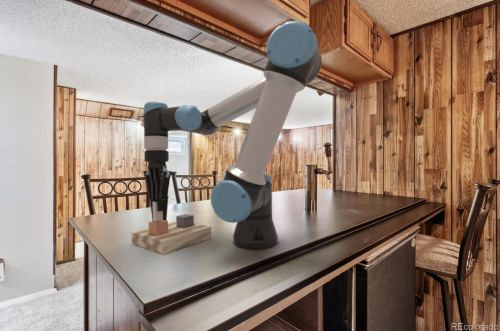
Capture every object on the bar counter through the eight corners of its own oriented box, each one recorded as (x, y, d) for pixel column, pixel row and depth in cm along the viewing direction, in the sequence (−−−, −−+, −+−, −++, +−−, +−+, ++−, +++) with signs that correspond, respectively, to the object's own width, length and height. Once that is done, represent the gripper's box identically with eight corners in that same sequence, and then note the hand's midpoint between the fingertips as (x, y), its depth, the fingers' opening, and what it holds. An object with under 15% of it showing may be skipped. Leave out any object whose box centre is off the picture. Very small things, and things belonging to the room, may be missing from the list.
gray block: (193, 228, 92) (193, 215, 92) (184, 231, 89) (183, 217, 89) (186, 227, 95) (185, 214, 95) (176, 229, 91) (176, 216, 91)
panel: (211, 237, 90) (211, 226, 90) (162, 254, 74) (162, 241, 74) (180, 230, 101) (179, 220, 101) (131, 243, 85) (131, 232, 85)
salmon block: (168, 236, 83) (167, 221, 83) (156, 239, 80) (156, 223, 80) (160, 234, 86) (160, 219, 86) (148, 237, 82) (148, 222, 82)
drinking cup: (163, 232, 98) (162, 181, 98) (145, 231, 99) (144, 182, 99) (173, 227, 105) (172, 180, 105) (156, 227, 107) (155, 180, 107)
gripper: (178, 149, 82) (179, 221, 82) (155, 151, 90) (156, 216, 90) (157, 148, 76) (159, 225, 76) (135, 150, 83) (136, 220, 84)
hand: (157, 220), depth 83 cm, fingers closed
